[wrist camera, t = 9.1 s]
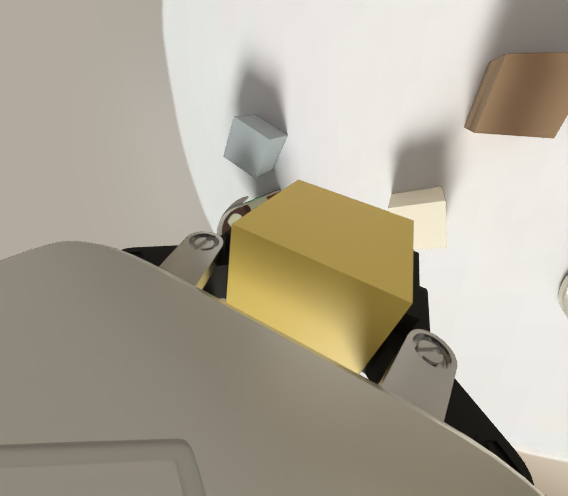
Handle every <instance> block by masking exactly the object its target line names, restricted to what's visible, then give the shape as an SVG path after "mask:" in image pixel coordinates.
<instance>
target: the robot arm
mask: <svg viewBox="0 0 568 496" xmlns="http://www.w3.org/2000/svg"><path fill="white" fill-rule="evenodd" d="M230 241H231V229H229V230H228V231H226V232H225V233H223V234H222V235H220V236H219V235H217V234H215V233H213V232H207V231H200V232H195V233H193V234H190V235H189V236H187V237H186V238H185V239H184V240H183V241H182V242H181V243H180V244H179V245H177V246H157V247H156V246H155V247H134V248H126V249H123V250H119V249H117V248H113V247H109V246H105V245H102V244H94V243H89V242H81V241H62V242H56V243H52V244H48V245H45V246H41V247H38V248H35V249H31V250H28V251H25V252H23V253H20V254H17V255H14V256H11V257H8V258H6V259H3V260H0V496H546V495H543V494H542V493H541V492H540V491H539V490H538V489H537V488H536V487H535V486H534V483H533V480H532V477H531V474H530V472H529V470H528V468H527V467H526V465H525V463H524V462H523V460H522V459H521V457H520V456H519V455H518V453H517V452H516V451H515V449H514V448H513V447H512V446H511V445H510V443H509V442H508V441H507V440H506V439H505V437H504V436H503V435H502V434H501V433H500V432H499V430H498V429H497V428H496V427H495V426H494V424H493V423H492V422H491V421H490V420H489V418H488V417H487V416H486V415H485V414H484V413H483V411H482V410H481V409H480V408H479V407H478V405H477V404H476V403H475V402H474V401H473V399H472V398H471V397H470V396H469V395H468V393H467V392H466V391H465V390H464V389H463V388H462V386H461V385H460V384H459V383H458V382H457V380H456V379H455V374H456V370H457V360H456V357H455V354H454V353H453V351H452V350H451V348H450V347H449V346H448V345H447V344H446V343H445V342H444V341H443V340H442V339H441V338H439V337H438V336H436V335H435V334H433V333H431V332H430V322H429V306H428V292H427V289H426V288H423V287H421V286H419V253H418V252H415V251H413V303H412V305H411V306H410V307H409V309H408V310H407V311H406V313H405V314H404V315H403V317H402V318H401V319H400V321H399V322H398V323H397V325H396V326H395V327H394V329H393V330H392V331H391V333H390V334H389V335H388V337H387V338H386V339H385V341H384V342H383V343H382V345H381V346H380V347H379V349H378V350H377V351H376V353H375V354H374V355H373V357H372V358H371V359H370V361H369V362H368V363H367V365H366V366H365V367H364V369H363V370H362V372H363V373H365V374H366V376H367V377H368V379H367V378H365V377H363V376H361V375H359V374H358V373H356V372H354V371H352V370H350V369H348V368H347V367H345V366H343V365H341V364H339V363H337V362H335V361H334V360H332V359H330V358H328V357H326V356H324V355H323V354H321V353H319V352H317V351H315V350H313V349H312V348H310V347H308V346H306V345H304V344H302V343H301V342H299V341H297V340H295V339H293V338H291V337H289V336H288V335H286V334H284V333H282V332H280V331H278V330H276V329H275V328H273V327H271V326H269V325H267V324H265V323H263V322H262V321H260V320H258V319H256V318H254V317H252V316H250V315H249V314H247V313H245V312H243V311H241V310H239V309H237V308H236V307H234V306H232V305H230V304H228V303H226V302H224V301H222V300H221V298H225V299H226V297H227V283H228V269H229V255H230ZM558 297H559V303H560V306H561V308H562V310H563V312H564V314H565V315H566V317H567V318H568V275H567V276H566V277H565V279H564V281H563V282H562V284H561V286H560V290H559V295H558Z"/></svg>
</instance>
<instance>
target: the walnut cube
mask: <svg viewBox="0 0 568 496" xmlns="http://www.w3.org/2000/svg"><path fill="white" fill-rule="evenodd" d="M567 115H568V52H556V53H512V54H505V55H503V56H501V57H499V58H497V59H495V60H493V61H491V62H489V64H488V67H487V70H486V72H485V75H484V77H483V80H482V83H481V85H480V88H479V90H478V93H477V96H476V98H475V101H474V103H473V106H472V109H471V111H470V114H469V116H468V119H467V122H466V124H465V127H464V128H466V129H468V130H470V131H472V132H474V133H486V134H500V135H514V136H528V137H542V138H554V137H555V136H556V134H557V132H558V131H559V129H560V127H561V125H562V124H563V122H564V120H565V118H566V117H567Z"/></svg>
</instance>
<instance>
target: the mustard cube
mask: <svg viewBox="0 0 568 496" xmlns="http://www.w3.org/2000/svg"><path fill="white" fill-rule="evenodd" d="M413 244H414V220H411V219H408V218H405V217H403V216H400V215H397V214H394V213H391V212H388V211H386V210H383V209H380V208H377V207H374V206H372V205H369V204H366V203H363V202H360V201H357V200H355V199H352V198H349V197H346V196H343V195H340V194H338V193H335V192H332V191H329V190H326V189H324V188H321V187H318V186H315V185H312V184H309V183H307V182H304V181H301V180H297V181H296V182H294V183H293V184H291V185H290V186H288V187H287V188H285V189H284V190H282V191H281V192H279V193H278V194H276V195H275V196H273V197H272V198H270V199H269V200H267V201H266V202H264V203H263V204H261V205H260V206H258V207H257V208H255V209H254V210H252V211H250V212H249V213H247V214H246V215H244V216H243V217H241V218H240V219H238V220H237V221H235V222H234V223H232V227H231V241H230V255H229V269H228V283H227V297H226V303H228V304H230V305H232V306H234V307H236V308H237V309H239V310H241V311H243V312H245V313H247V314H249V315H250V316H252V317H254V318H256V319H258V320H260V321H262V322H263V323H265V324H267V325H269V326H271V327H273V328H275V329H276V330H278V331H280V332H282V333H284V334H286V335H288V336H289V337H291V338H293V339H295V340H297V341H299V342H301V343H302V344H304V345H306V346H308V347H310V348H312V349H313V350H315V351H317V352H319V353H321V354H323V355H324V356H326V357H328V358H330V359H332V360H334V361H335V362H337V363H339V364H341V365H343V366H345V367H347V368H348V369H350V370H352V371H354V372H356V373H358V374H360V373H361V371H362V370H363V369H364V367H365V366H366V365H367V363H368V362H369V361H370V359H371V358H372V357H373V355H374V354H375V353H376V351H377V350H378V349H379V347H380V346H381V345H382V343H383V342H384V341H385V339H386V338H387V337H388V335H389V334H390V333H391V331H392V330H393V329H394V327H395V326H396V325H397V323H398V322H399V321H400V319H401V318H402V317H403V315H404V314H405V313H406V311H407V310H408V309H409V307H410V306H411V305H412V303H413Z"/></svg>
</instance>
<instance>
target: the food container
mask: <svg viewBox="0 0 568 496" xmlns="http://www.w3.org/2000/svg"><path fill="white" fill-rule="evenodd" d="M279 192H281V190H277V191H274V192H271V193H268V194H266V195H263V196H261V197H258V198H256V199H253V200H251V201H248V202H246V203H244V202H245V201H246V200H247V199H248V196H247V197H243V198H241V199H239V200H237V201H235V202H234V203H233V204H232V205H231V206H230V207H229V208H228V209H227V210H226V211H225V213H224V214H223V215H222V217H221V219H220V222H219V224H218V228H217V235H219V236H220V235H222V234H223V233H225V232H226V231H228V230H229V229H231V227H232V223H234V222H235V221H237V220H238V219H240V218H241V217H243V216H244V215H246V214H247V213H249V212H250V211H252V210H254V209H255V208H257V207H258V206H260V205H261V204H263V203H264V202H266V201H267V200H269V199H270V198H272V197H273V196H275V195H276V194H278V193H279Z"/></svg>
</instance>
